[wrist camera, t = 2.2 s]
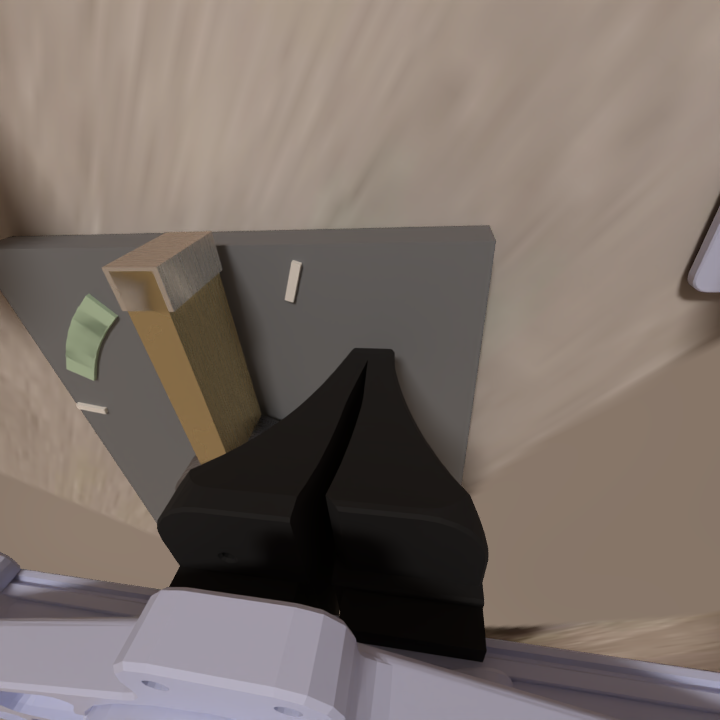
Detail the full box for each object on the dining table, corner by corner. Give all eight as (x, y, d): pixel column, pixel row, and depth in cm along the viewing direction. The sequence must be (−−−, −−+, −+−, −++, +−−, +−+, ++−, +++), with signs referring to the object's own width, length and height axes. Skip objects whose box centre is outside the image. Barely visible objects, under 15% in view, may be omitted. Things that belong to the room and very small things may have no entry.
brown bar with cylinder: (257, 230, 11) (208, 269, 9) (313, 483, 18) (294, 545, 15) (123, 233, 12) (44, 270, 9) (227, 475, 18) (196, 533, 16)
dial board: (489, 225, 12) (496, 242, 10) (449, 537, 22) (450, 565, 21) (10, 236, 15) (-32, 251, 13) (173, 507, 25) (158, 530, 24)
